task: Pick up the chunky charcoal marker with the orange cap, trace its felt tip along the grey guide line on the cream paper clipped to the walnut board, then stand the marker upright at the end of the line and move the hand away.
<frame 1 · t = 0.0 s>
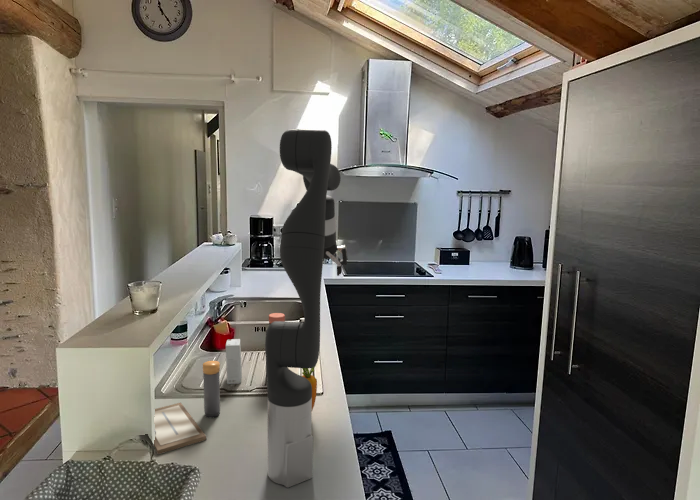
hand: (325, 273, 154), 31 cm above the worktop, tool tilted 20°, fingers open, 8 cm apart
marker: (212, 414, 127), on the worktop
skincare box: (234, 380, 148), on the worktop
bottle: (276, 377, 151), on the worktop
writing board: (170, 427, 119), on the worktop
carrot: (307, 418, 126), on the worktop
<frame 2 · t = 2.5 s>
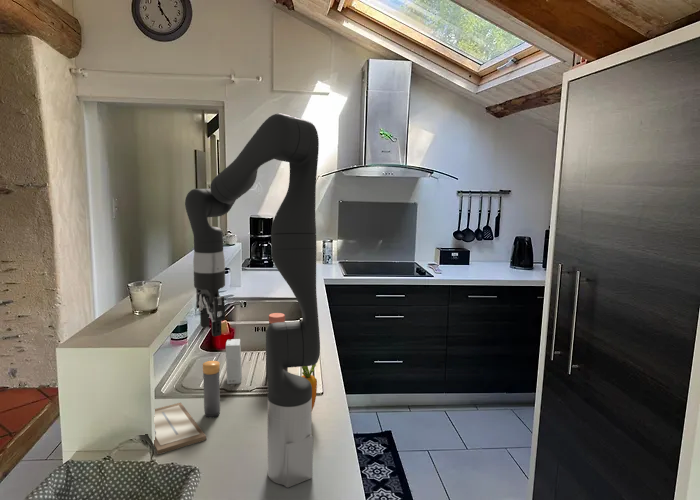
hand: (210, 330, 123), 23 cm above the worktop, tool pointing down, fingers open, 8 cm apart
nothing on the worktop moved.
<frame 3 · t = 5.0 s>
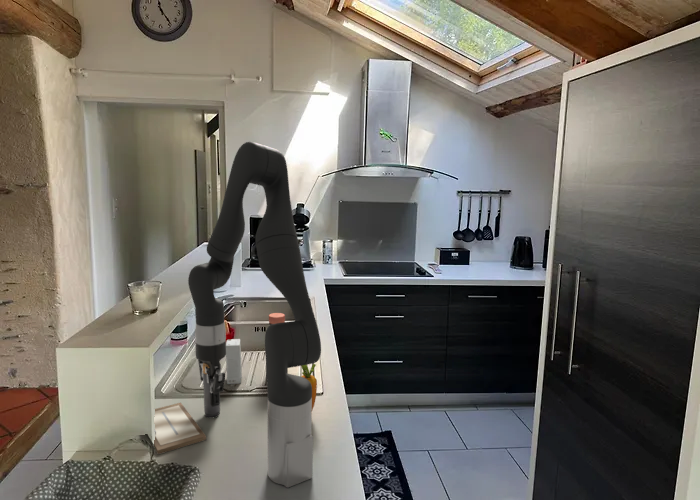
hand: (212, 401, 126), 4 cm above the worktop, tool pointing down, fingers closed on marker, 4 cm apart
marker: (212, 414, 127), on the worktop, touching gripper
everything else where it was.
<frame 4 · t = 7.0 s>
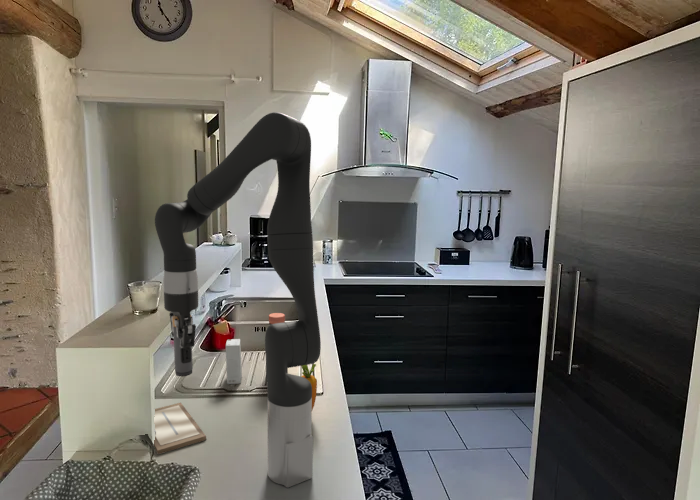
hand: (183, 358, 114), 19 cm above the worktop, tool pointing down, fingers closed on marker, 4 cm apart
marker: (183, 373, 115), point 16 cm above the worktop, touching gripper
everything else where it was.
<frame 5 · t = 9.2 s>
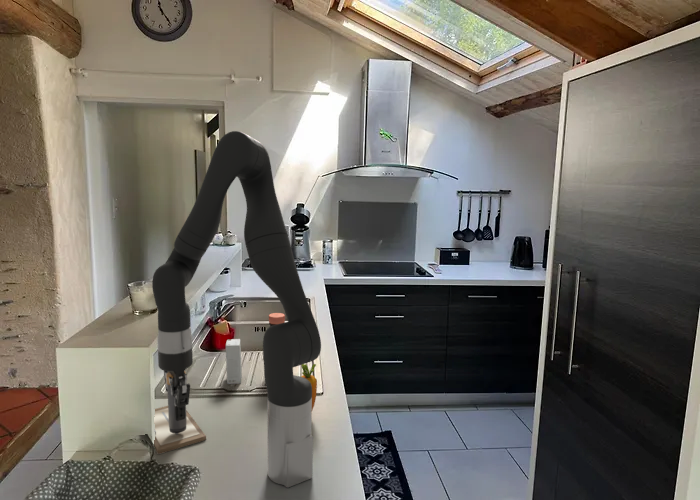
hand: (177, 414, 114), 6 cm above the worktop, tool pointing down, fingers closed on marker, 4 cm apart
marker: (178, 428, 115), point 2 cm above the worktop, touching gripper
everything else where it was.
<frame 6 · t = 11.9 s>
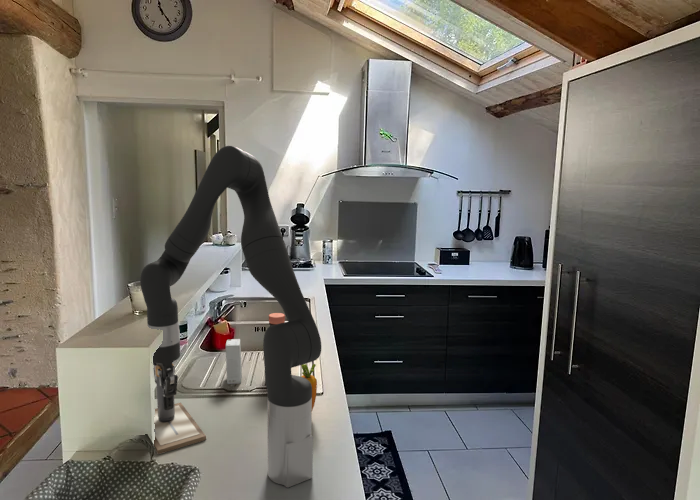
hand: (166, 405, 121), 5 cm above the worktop, tool pointing down, fingers closed on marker, 4 cm apart
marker: (166, 418, 121), point 1 cm above the worktop, touching gripper
everything else where it was.
when the fingers open (5 cm above the worktop, at t = 13.8 s): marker stays where it is, resting on writing board.
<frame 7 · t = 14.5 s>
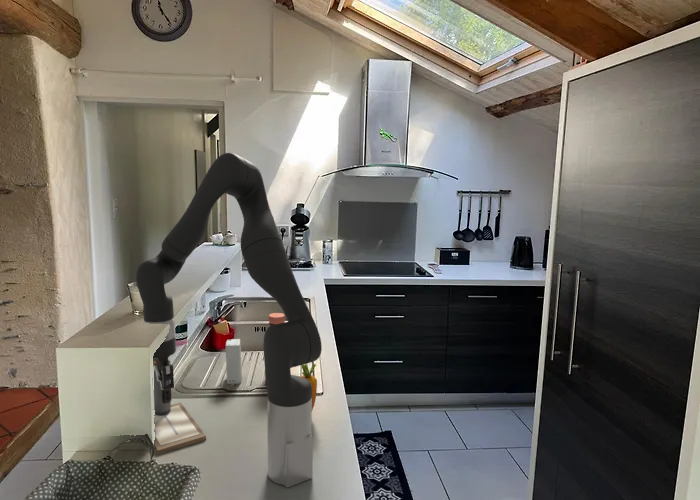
hand: (162, 395, 124), 6 cm above the worktop, tool pointing down, fingers open, 8 cm apart
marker: (162, 412, 125), point 1 cm above the worktop, touching writing board
everything else where it was.
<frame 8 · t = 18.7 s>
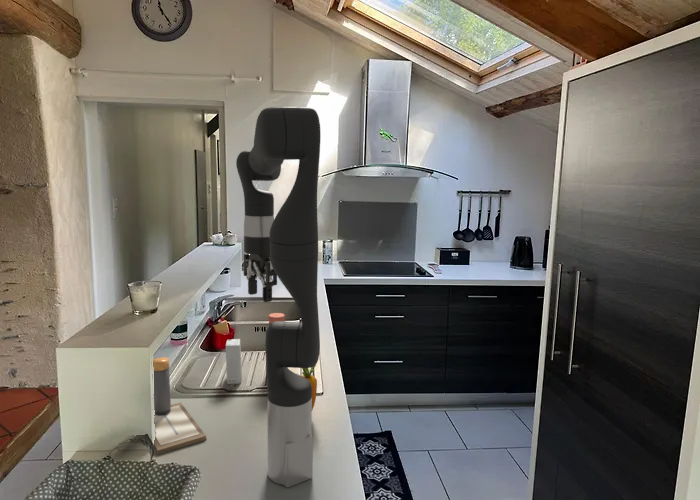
hand: (259, 297, 121), 32 cm above the worktop, tool pointing down, fingers open, 8 cm apart
nothing on the worktop moved.
at the end: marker inside the target area (0.1 cm from its centre), point 1.1 cm above the worktop; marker tilted 2°; the gripper is holding nothing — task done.
